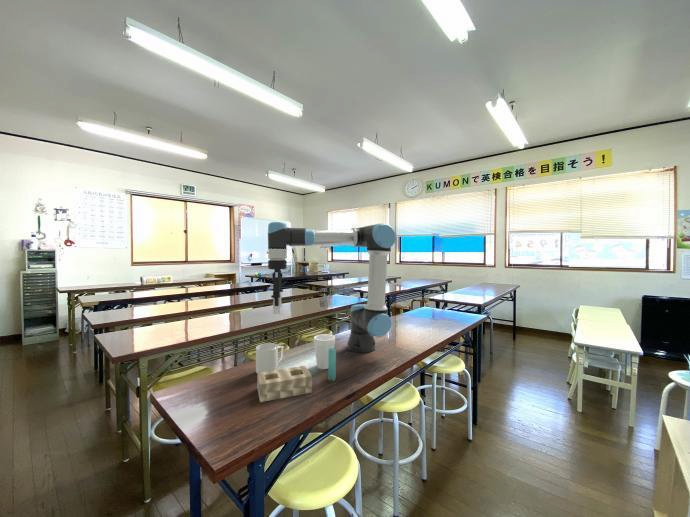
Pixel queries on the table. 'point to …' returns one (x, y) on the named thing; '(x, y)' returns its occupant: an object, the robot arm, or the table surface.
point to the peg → (331, 364)
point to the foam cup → (323, 349)
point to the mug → (268, 357)
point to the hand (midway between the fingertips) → (277, 310)
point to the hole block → (283, 383)
